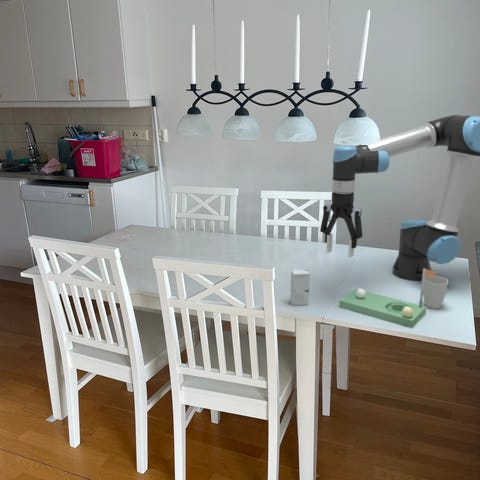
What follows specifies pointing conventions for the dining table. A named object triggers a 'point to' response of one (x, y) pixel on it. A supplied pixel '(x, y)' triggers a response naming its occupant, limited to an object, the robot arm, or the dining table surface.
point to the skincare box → (299, 287)
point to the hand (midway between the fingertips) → (339, 253)
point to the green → (382, 308)
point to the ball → (360, 293)
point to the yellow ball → (407, 311)
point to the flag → (425, 273)
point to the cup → (434, 291)
